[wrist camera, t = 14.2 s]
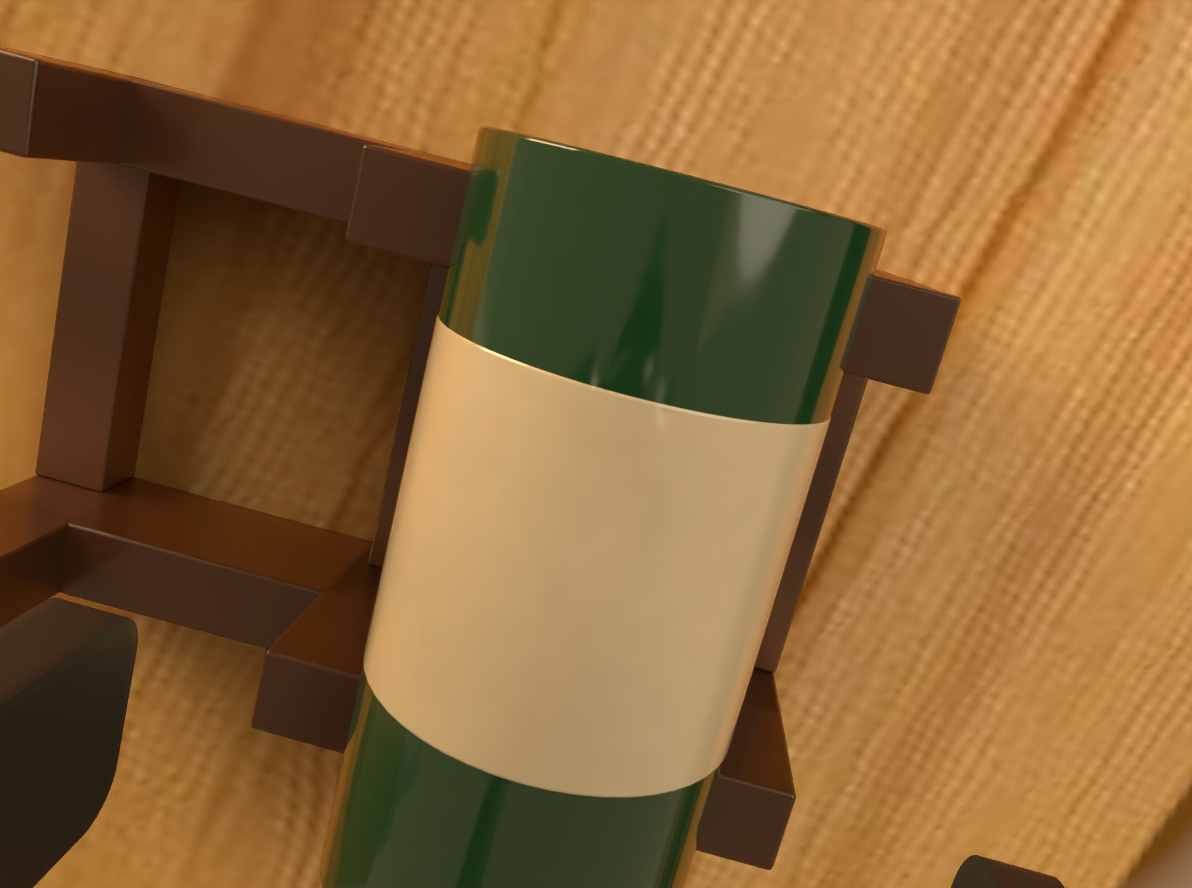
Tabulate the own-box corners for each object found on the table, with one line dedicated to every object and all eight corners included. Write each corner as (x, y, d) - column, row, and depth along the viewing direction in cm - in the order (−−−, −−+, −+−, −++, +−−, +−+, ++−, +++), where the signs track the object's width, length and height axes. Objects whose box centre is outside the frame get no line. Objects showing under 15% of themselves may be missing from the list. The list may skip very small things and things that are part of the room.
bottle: (515, 139, 19) (432, 109, 13) (856, 226, 18) (930, 237, 13) (322, 997, 23) (193, 1271, 17) (599, 1076, 23) (565, 1381, 17)
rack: (751, 708, 26) (772, 873, 19) (62, 521, 26) (-138, 623, 20) (888, 272, 23) (962, 298, 17) (124, 74, 24) (-81, 27, 17)
